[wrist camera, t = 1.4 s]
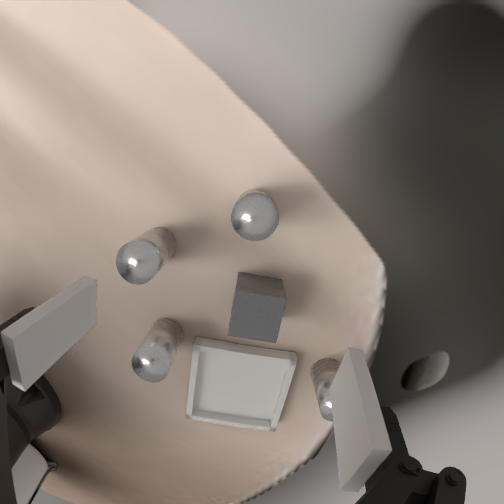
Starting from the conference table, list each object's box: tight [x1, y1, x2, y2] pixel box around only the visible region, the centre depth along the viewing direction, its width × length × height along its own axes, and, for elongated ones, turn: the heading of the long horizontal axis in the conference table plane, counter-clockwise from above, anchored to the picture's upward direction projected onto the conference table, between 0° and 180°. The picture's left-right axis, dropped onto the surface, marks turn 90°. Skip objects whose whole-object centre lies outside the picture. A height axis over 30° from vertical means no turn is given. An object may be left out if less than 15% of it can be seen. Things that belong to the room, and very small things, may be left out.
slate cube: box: [228, 272, 286, 343], centre depth 35 cm, size 5×5×6 cm
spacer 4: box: [311, 358, 340, 421], centre depth 36 cm, size 4×4×8 cm
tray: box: [186, 336, 297, 431], centre depth 40 cm, size 13×13×2 cm
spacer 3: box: [231, 190, 279, 241], centre depth 31 cm, size 4×4×8 cm
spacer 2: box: [132, 318, 183, 382], centre depth 35 cm, size 4×4×8 cm
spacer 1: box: [116, 228, 176, 284], centre depth 32 cm, size 4×4×8 cm
